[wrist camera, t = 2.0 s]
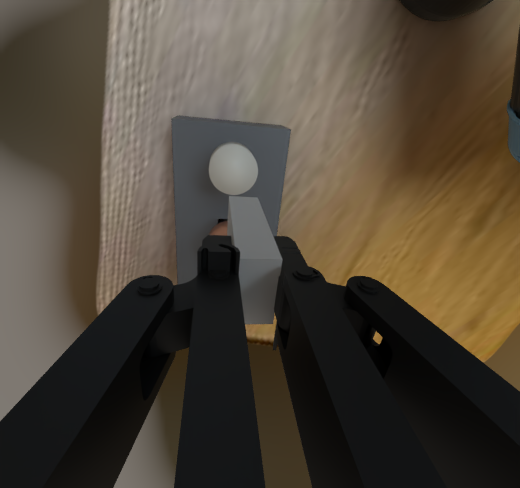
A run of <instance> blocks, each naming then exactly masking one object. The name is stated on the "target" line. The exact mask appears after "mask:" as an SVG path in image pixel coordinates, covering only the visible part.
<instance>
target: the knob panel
mask: <svg viewBox="0 0 520 488" xmlns="http://www.w3.org/2000/svg"><path fill="white" fill-rule="evenodd" d="M290 132H291V130H290V129H288V128H286V127H284V126H281V125H271V124H261V123H250V122H240V121H229V120H219V119H208V118H198V117H187V116H176V117H174V118H172V145H173V172H174V198H175V225H176V252H177V278H178V285H179V284H183V283H186V282H189V281H191V280H193V279H194V278H195V277H196V276H197V251H198V249H199V247H201V246H202V240H203V239H204V238H205V237H206V236H207V235H209V233H210V231H211V229H212V228H213V227H214V226H215V225H217V224H219V223H221V222H219V221H218V219H228V206H229V196H239V197H257V198H258V200H259V202H260V205H261V207H262V210H263V212H264V215H265V217H266V220H267V222H268V225H269V227H270V230H271V232H272V235H273V236H277V229H278V221H279V214H280V206H281V199H282V191H283V184H284V177H285V169H286V162H287V154H288V147H289V139H290ZM227 142H237V143H240V144H243V145H244V146H246V147H247V148H248V149H249V150H250V151H251V153H252V155H253V156H254V158H255V160H256V162H257V166H258V176H257V179H256V181H255V183H254V185H253V186H252V187H251V188H250V189H249V190H248V191H246V192H245V193H242V194H239V195H229V194H225V193H223V192H221V191H219V190H218V189H217V188H216V187H215V186H214V185H213V183H212V181H211V179H210V176H209V163H210V158H211V155H212V153H213V152H214V150H215V149H216V148H217V147H218V146H220V145H221V144H223V143H227Z"/></svg>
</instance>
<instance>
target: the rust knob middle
mask: <svg viewBox="0 0 520 488" xmlns="http://www.w3.org/2000/svg"><path fill="white" fill-rule="evenodd" d="M227 226H228V219H222V220H221V223H219V224H217V225H215V226H214V227H213V228H212V229H211V231H210V233H209V235H226V236H227Z"/></svg>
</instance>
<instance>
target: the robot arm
mask: <svg viewBox="0 0 520 488" xmlns="http://www.w3.org/2000/svg"><path fill="white" fill-rule="evenodd" d="M400 1H401V2H402V4H403V5H404V6H405V7H406V8H407V9H408V10H409V11H411V12H412V13H413V14H415V15H417V16H419V17H421V18H423V19H427V20H432V21H445V20H450V19H454V18H457V17H460V16H463V15H466V14H469V13H472V12H474V11H476V10H478V9H480V8H482V7H484V6H485V5H487V4H489V3H490V2H492V1H493V0H400ZM507 112H508V115H509V129H508V147H509V150H510V153H511V154H512V156H513V157H514V158H515V159H516V160H517V161H518V162H519V163H520V27H519V35H518V44H517V52H516V60H515V69H514V77H513V86H512V94H511V99H510V100H509V101H508V104H507ZM274 313H275V315H276V319H277V324H276V330H275V336H274V343H273V350H276V347H277V344H278V347H279V350H280V355H281V359H282V363H283V367H284V372H285V376H286V380H287V384H288V388H289V392H290V397H291V401H292V405H293V409H294V413H295V417H296V421H297V426H298V430H299V434H300V438H301V442H302V447H303V451H304V455H305V459H306V463H307V467H308V472H309V476H310V480H311V484H312V488H520V391H518V390H517V389H516V388H514V387H513V386H512V385H511V384H509V383H508V382H507V381H506V380H504V379H503V378H502V377H501V376H499V375H498V374H497V373H495V372H494V371H493V370H492V369H490V368H489V367H488V366H486V365H485V364H484V363H483V362H482V361H480V360H479V359H478V358H476V357H475V356H474V355H473V354H471V353H470V352H469V351H468V350H466V349H465V348H464V347H462V346H461V345H460V344H459V343H457V342H456V341H455V340H454V339H452V338H451V337H450V336H448V335H447V334H446V333H445V332H443V331H442V330H441V329H440V328H438V327H437V326H436V325H434V324H433V323H432V322H431V321H429V320H428V319H427V318H426V317H424V316H423V315H422V314H421V313H419V312H418V311H417V310H415V309H414V308H413V307H412V306H410V305H409V304H408V303H407V302H405V301H404V300H403V299H401V298H400V297H399V296H398V295H396V294H395V293H394V292H393V291H391V290H390V289H389V288H387V287H386V286H385V285H384V284H382V283H380V282H379V281H377V280H375V279H372V278H370V277H366V276H354V277H351V278H350V279H349V280H348V281H347V285H346V286H341V285H336V284H331V283H327V282H326V280H325V278H324V277H323V275H322V274H321V273H320V272H319V271H318V270H316V269H314V268H312V267H309V266H308V265H307V263H306V262H305V260H304V258H303V256H302V254H301V252H300V250H299V249H298V247H297V245H296V243H295V242H294V241H293V240H292V239H290V238H289V237H285V236H273V235H272V232H271V230H270V227H269V225H268V222H267V220H266V217H265V215H264V212H263V210H262V207H261V205H260V202H259V200H258V198H257V197H239V196H229V206H228V226H227V236H226V235H207V236H206V237H205V238H204V239H203V240H202V246H201V247H199V249H198V251H197V276H196V277H195V278H194V279H193V280H191V281H189V282H186V283H183V284H179V285H173V284H172V281H171V280H169V279H168V278H166V277H163V276H159V275H148V276H143V277H140V278H137V279H135V280H133V281H131V282H130V283H129V284H127V286H126V287H125V288H124V289H123V290H122V291H121V292H120V293H119V294H118V295H117V296H116V297H115V298H114V300H113V301H112V302H111V303H110V304H109V305H108V306H107V307H106V308H105V309H104V310H103V311H102V312H101V314H100V315H99V316H98V317H97V318H96V319H95V320H94V321H93V322H92V323H91V324H90V325H89V326H88V328H87V329H86V330H85V331H84V332H83V333H82V334H81V335H80V336H79V337H78V338H77V339H76V340H75V342H74V343H73V344H72V345H71V346H70V347H69V348H68V349H67V350H66V351H65V352H64V353H63V354H62V356H61V357H60V358H59V359H58V360H57V361H56V362H55V363H54V364H53V365H52V366H51V367H50V368H49V370H48V371H47V372H46V373H45V374H44V375H43V376H42V377H41V378H40V379H39V380H38V381H37V382H36V384H35V385H34V386H33V387H32V388H31V389H30V390H29V391H28V392H27V393H26V394H25V395H24V397H23V398H22V399H21V400H20V401H19V402H18V403H17V404H16V405H15V406H14V407H13V408H12V409H11V410H10V412H9V413H8V414H7V415H6V416H5V417H4V418H3V419H2V420H1V421H0V488H113V487H114V485H115V483H116V481H117V478H118V476H119V474H120V472H121V470H122V468H123V466H124V464H125V461H126V459H127V457H128V455H129V453H130V451H131V449H132V447H133V444H134V442H135V440H136V438H137V436H138V434H139V432H140V430H141V428H142V425H143V423H144V421H145V419H146V417H147V415H148V413H149V410H150V408H151V406H152V404H153V402H154V400H155V398H156V396H157V394H158V392H159V389H160V387H161V385H162V383H163V381H164V379H165V377H166V375H167V372H168V370H169V368H170V366H171V364H172V362H173V360H174V357H175V354H176V351H178V350H181V349H185V348H188V347H189V355H188V364H187V373H186V383H185V392H184V401H183V411H182V420H181V429H180V438H179V447H178V456H177V465H176V475H175V484H174V488H265V481H264V473H263V465H262V457H261V449H260V441H259V433H258V425H257V417H256V409H255V401H254V393H253V385H252V377H251V369H250V361H249V353H248V345H247V337H246V329H245V324H273V320H274ZM376 331H377V332H378V333H379V334H380V335H381V336H382V337H383V338H382V341H381V343H380V345H379V344H378V343H376V342H375V341H374V340H373V337H374V334H375V332H376Z"/></svg>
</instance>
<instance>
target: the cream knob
mask: <svg viewBox="0 0 520 488" xmlns="http://www.w3.org/2000/svg"><path fill="white" fill-rule="evenodd" d="M209 176H210V179H211V181H212V183H213V185H214V186H215V187H216V188H217V189H218V190H219V191H221V192H223V193H225V194H229V195H239V194H242V193H245V192H246V191H248V190H249V189H250V188H251V187H252V186H253V185H254V183H255V181H256V179H257V176H258V166H257V162H256V160H255V158H254V156H253V155H252V153H251V151H250V150H249V149H248V148H247V147H246V146H244V145H243V144H240V143H237V142H227V143H223V144H221V145H220V146H218V147H217V148H216V149H215V150H214V152H213V153H212V155H211V158H210V163H209Z"/></svg>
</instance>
